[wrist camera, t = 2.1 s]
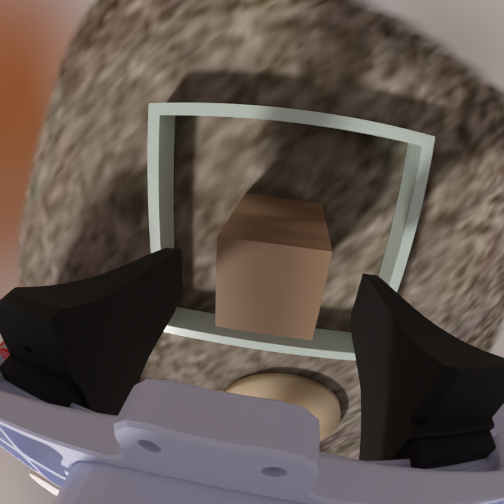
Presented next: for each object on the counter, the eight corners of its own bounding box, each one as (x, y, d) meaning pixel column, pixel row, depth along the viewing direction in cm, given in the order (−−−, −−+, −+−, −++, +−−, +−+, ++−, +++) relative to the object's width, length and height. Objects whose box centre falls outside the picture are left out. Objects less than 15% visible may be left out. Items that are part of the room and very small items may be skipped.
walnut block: (322, 202, 16) (332, 251, 11) (310, 270, 18) (312, 340, 12) (245, 193, 16) (217, 236, 11) (240, 261, 18) (215, 326, 13)
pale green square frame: (420, 132, 14) (435, 136, 12) (366, 340, 19) (370, 361, 17) (165, 103, 15) (148, 103, 13) (169, 312, 21) (158, 330, 19)
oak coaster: (355, 380, 21) (356, 388, 20) (323, 445, 25) (323, 452, 25) (220, 363, 22) (217, 370, 21) (219, 432, 26) (217, 438, 26)
